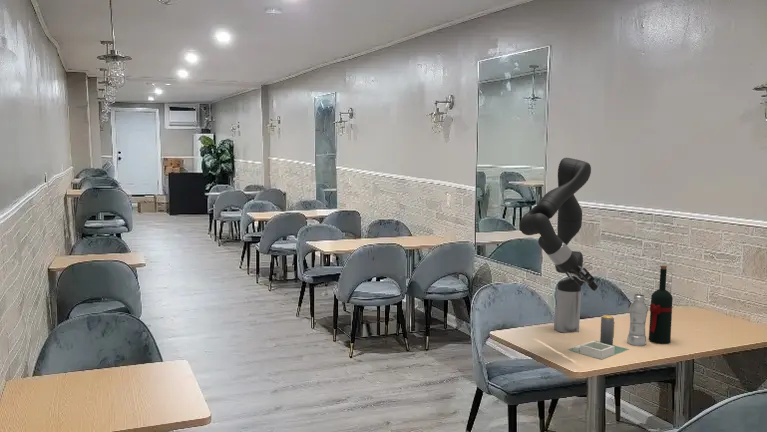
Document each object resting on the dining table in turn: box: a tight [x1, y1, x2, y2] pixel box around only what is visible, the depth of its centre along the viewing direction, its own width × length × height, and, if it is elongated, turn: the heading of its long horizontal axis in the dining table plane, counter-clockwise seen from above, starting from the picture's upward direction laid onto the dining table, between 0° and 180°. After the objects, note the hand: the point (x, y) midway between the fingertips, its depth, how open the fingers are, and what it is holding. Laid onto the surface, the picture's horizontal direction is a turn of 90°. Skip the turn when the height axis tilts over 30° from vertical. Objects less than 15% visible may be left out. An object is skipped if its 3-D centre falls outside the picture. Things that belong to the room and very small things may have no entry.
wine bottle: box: [648, 264, 673, 345], centre depth 250 cm, size 8×10×30 cm
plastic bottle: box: [627, 293, 649, 347], centre depth 243 cm, size 6×7×20 cm
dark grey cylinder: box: [599, 314, 616, 346], centre depth 239 cm, size 5×4×12 cm
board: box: [567, 340, 630, 360], centre depth 236 cm, size 14×19×4 cm
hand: (588, 286), depth 232 cm, fingers open, 8 cm apart
